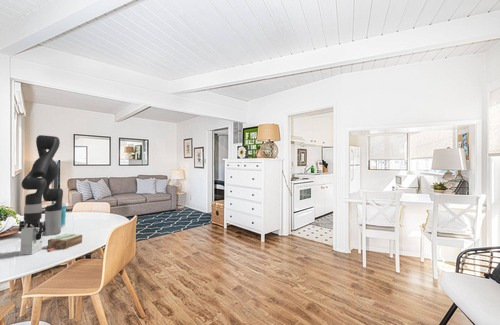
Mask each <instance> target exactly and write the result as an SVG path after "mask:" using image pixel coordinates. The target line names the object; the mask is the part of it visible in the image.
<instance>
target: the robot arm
mask: <svg viewBox="0 0 500 325" xmlns="http://www.w3.org/2000/svg"><path fill="white" fill-rule="evenodd" d="M35 138H36V139H35V140H36V141H35V143H36V145H35V146H36V149H37V153H38V158H37V159H36V160H34V162H33V164H32V167H31V170H30V171H29V172H28V174H26V176H24V178H23V179H22V181H21V187H22V189H23V190H26V191H27V190H31V191H32V190H35V192H33V193H27V194H26V195H25V200H24V210H23V220H22V221H21V220H20V221H19V225H18V232H20V233H21V229H23V228H27V227H32V228H34V231H36V233H37V234H36V240H40V239H41V234H42V235H44V236H54V235H58V234H59V235H60V233H61V232H62V227H61V214H62V204H63V197H64V190H63V189H62V188H50V186H51V185H52V183H53V182H54V181H55V179H56V178H57V177H58V175H59V165H58V163H57V162H56V161H55V160H54V159H53V158H54V157H55V154H56V153H57V151H58V149H59V148H60V144H61V142H60V138H59V137H58V136H54V135H44V134H43V135H42V134H40V135H38V136H37V137H35ZM43 201H44V202H55V203H52V204H53V205H50V204H49V205H50V206H47V205H46V206H45V208H44V220H43V221H41V220H42V216H43V214H42V212H43V205H42V203H43ZM36 227H38V228H36ZM38 230H39V231H38Z"/></svg>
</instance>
